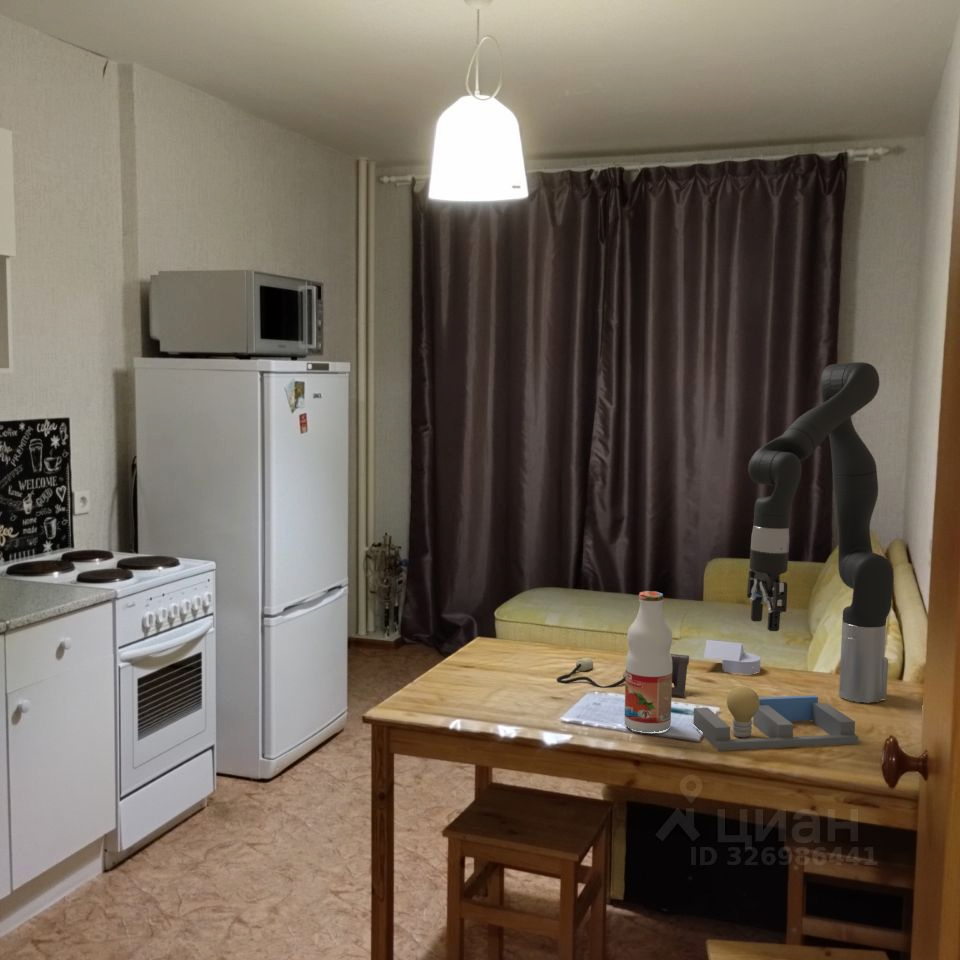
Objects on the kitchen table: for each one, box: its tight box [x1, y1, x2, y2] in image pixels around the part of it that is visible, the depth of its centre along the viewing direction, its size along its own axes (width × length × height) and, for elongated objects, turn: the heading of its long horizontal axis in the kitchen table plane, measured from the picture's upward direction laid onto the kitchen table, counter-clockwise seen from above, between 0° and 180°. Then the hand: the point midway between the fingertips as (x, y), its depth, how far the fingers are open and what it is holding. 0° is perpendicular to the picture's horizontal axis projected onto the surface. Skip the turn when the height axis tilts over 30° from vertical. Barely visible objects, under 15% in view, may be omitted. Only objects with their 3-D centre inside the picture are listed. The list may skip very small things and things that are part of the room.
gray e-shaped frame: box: [692, 694, 859, 752], centre depth 212 cm, size 29×15×5 cm, turn 99°
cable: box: [556, 657, 626, 689], centre depth 248 cm, size 16×16×4 cm
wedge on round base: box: [702, 639, 762, 674], centre depth 258 cm, size 9×7×13 cm
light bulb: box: [726, 685, 760, 738], centre depth 211 cm, size 6×6×10 cm
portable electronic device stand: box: [670, 653, 690, 698], centre depth 239 cm, size 9×8×8 cm
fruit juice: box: [624, 590, 673, 732], centre depth 214 cm, size 9×9×28 cm
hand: (764, 625), depth 217 cm, fingers open, 8 cm apart
